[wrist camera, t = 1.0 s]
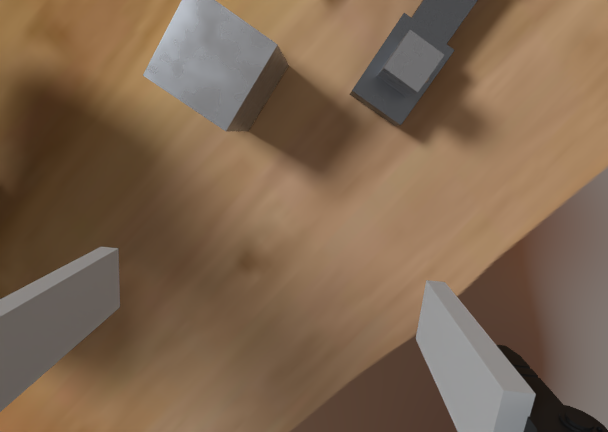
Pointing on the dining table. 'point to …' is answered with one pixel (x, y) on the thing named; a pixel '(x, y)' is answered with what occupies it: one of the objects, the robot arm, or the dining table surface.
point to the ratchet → (410, 58)
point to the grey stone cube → (217, 64)
